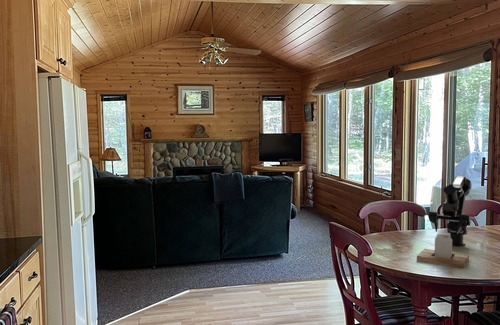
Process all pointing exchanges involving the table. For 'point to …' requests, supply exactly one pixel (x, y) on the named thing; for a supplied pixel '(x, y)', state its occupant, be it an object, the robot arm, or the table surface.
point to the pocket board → (443, 259)
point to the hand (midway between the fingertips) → (446, 232)
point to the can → (443, 246)
